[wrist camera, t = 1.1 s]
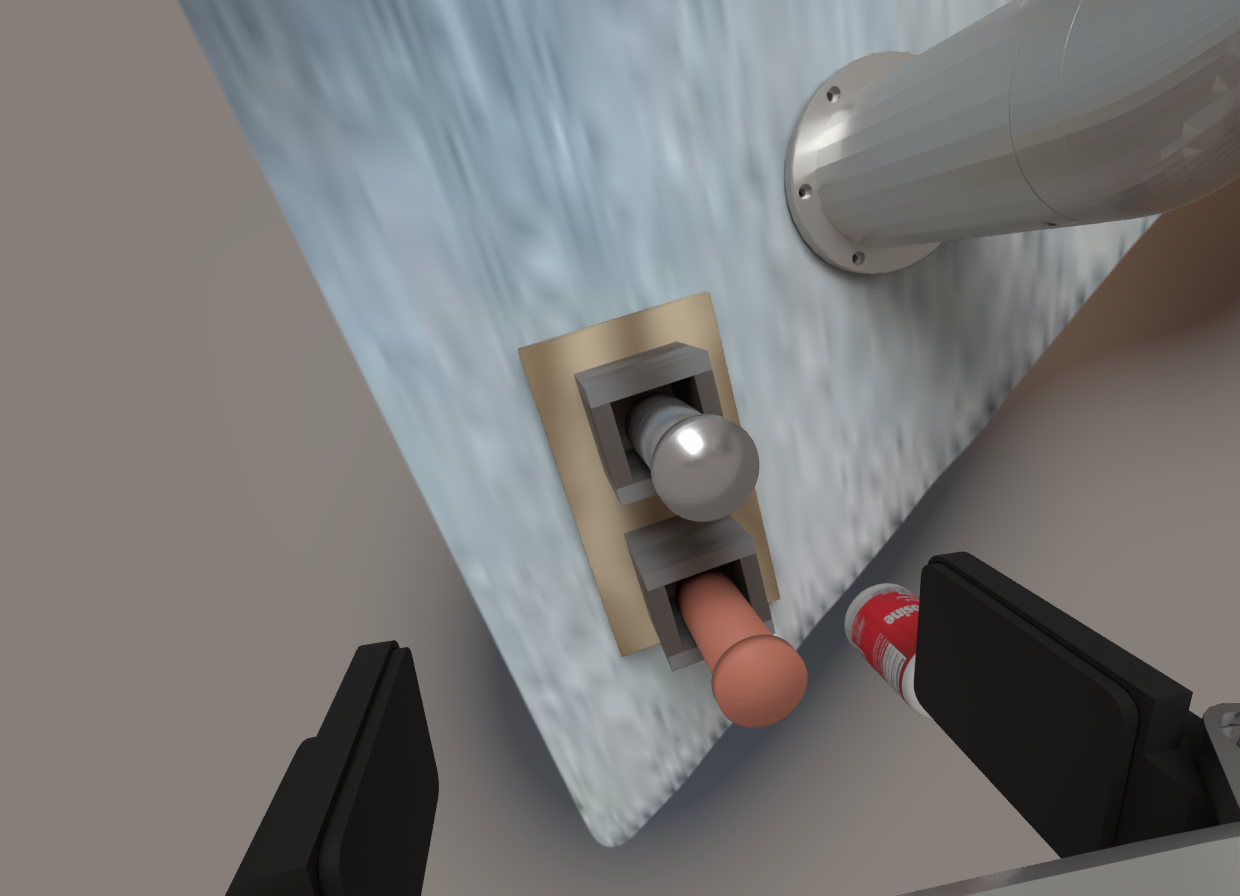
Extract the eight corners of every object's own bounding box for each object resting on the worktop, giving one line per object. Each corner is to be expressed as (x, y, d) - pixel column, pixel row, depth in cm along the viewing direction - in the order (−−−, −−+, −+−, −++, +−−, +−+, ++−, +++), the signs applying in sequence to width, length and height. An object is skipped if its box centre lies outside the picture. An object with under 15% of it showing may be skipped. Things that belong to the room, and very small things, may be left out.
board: (699, 292, 37) (747, 292, 30) (768, 585, 44) (822, 647, 36) (518, 348, 36) (519, 364, 28) (616, 640, 43) (639, 716, 35)
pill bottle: (920, 580, 46) (1040, 665, 36) (904, 649, 48) (1015, 750, 37) (848, 580, 45) (951, 668, 34) (834, 650, 46) (928, 756, 36)
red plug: (729, 549, 35) (797, 631, 26) (745, 611, 36) (815, 707, 28) (660, 574, 34) (707, 664, 26) (678, 635, 36) (729, 740, 27)
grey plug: (684, 373, 32) (746, 403, 23) (703, 448, 33) (768, 501, 25) (607, 398, 31) (642, 438, 23) (629, 472, 33) (670, 535, 24)
